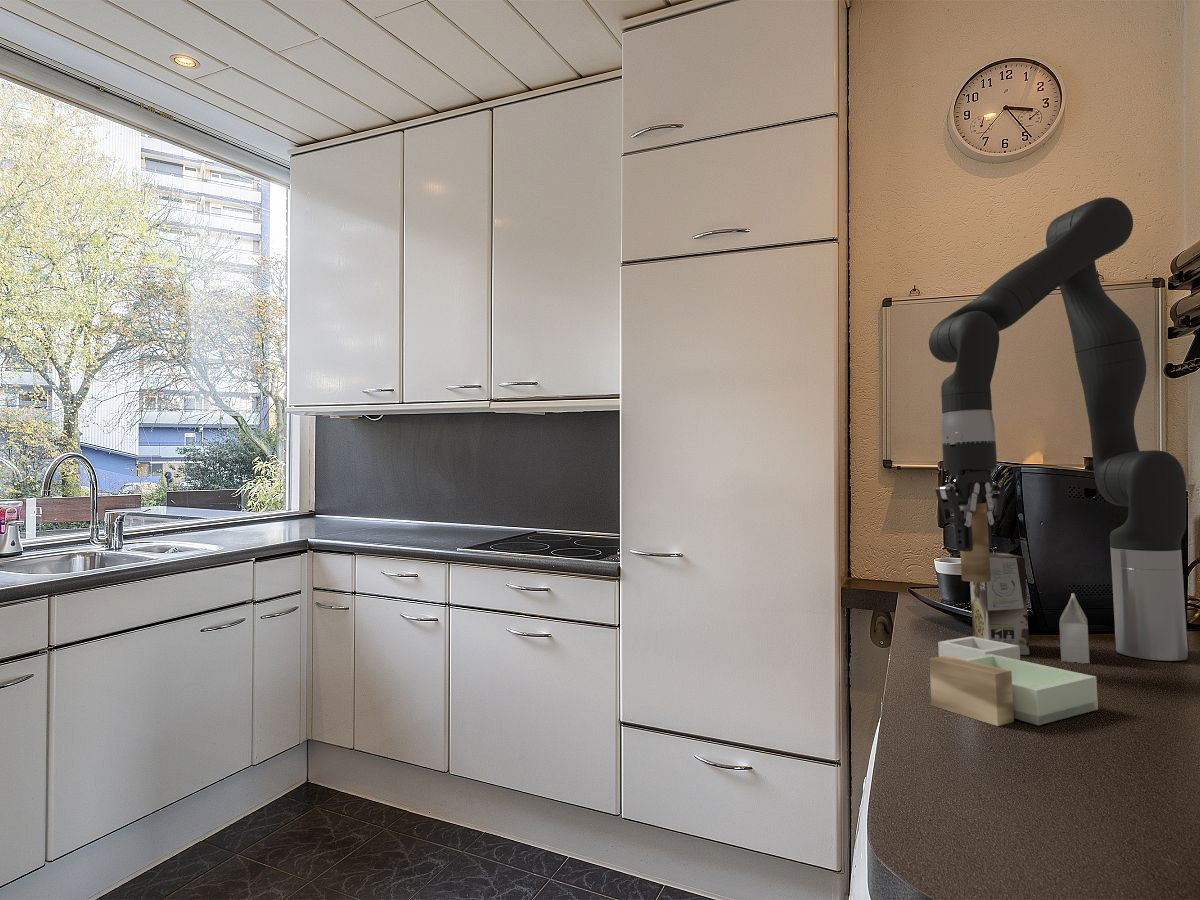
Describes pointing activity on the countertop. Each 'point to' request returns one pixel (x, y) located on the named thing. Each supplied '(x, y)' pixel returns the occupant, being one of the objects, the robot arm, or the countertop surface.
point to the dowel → (977, 548)
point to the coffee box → (1002, 602)
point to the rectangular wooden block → (972, 689)
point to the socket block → (977, 648)
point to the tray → (1045, 690)
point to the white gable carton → (1074, 633)
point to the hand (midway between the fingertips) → (974, 549)
